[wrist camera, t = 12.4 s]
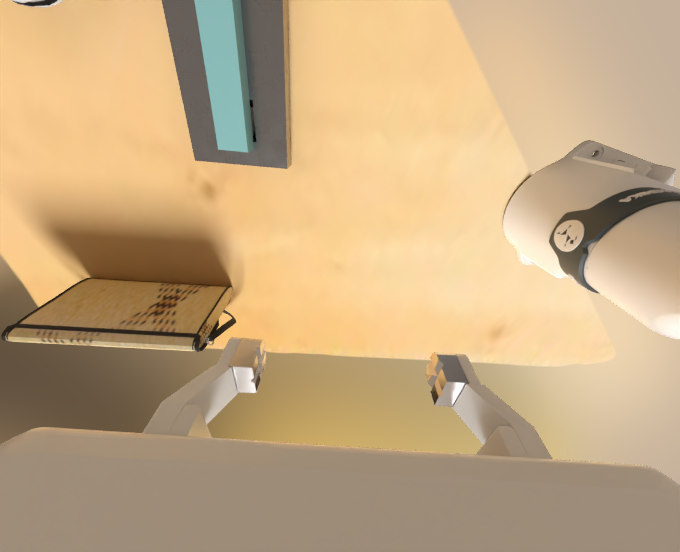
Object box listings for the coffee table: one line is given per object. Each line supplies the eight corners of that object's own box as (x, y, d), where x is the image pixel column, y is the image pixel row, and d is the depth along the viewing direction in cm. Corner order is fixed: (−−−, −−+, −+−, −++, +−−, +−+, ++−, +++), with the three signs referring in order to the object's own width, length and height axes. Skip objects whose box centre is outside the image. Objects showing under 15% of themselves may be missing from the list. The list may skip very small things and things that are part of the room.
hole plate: (285, -118, 23) (278, -146, 21) (291, 164, 36) (287, 168, 34) (150, -136, 23) (127, -166, 20) (205, 156, 36) (195, 160, 33)
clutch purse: (98, 302, 51) (17, 365, 38) (81, 272, 47) (-16, 332, 34) (249, 311, 51) (218, 375, 39) (244, 282, 48) (209, 344, 35)
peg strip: (240, -91, 24) (218, -134, 20) (259, 147, 35) (247, 152, 30) (202, -96, 24) (172, -140, 19) (233, 144, 35) (218, 149, 30)
